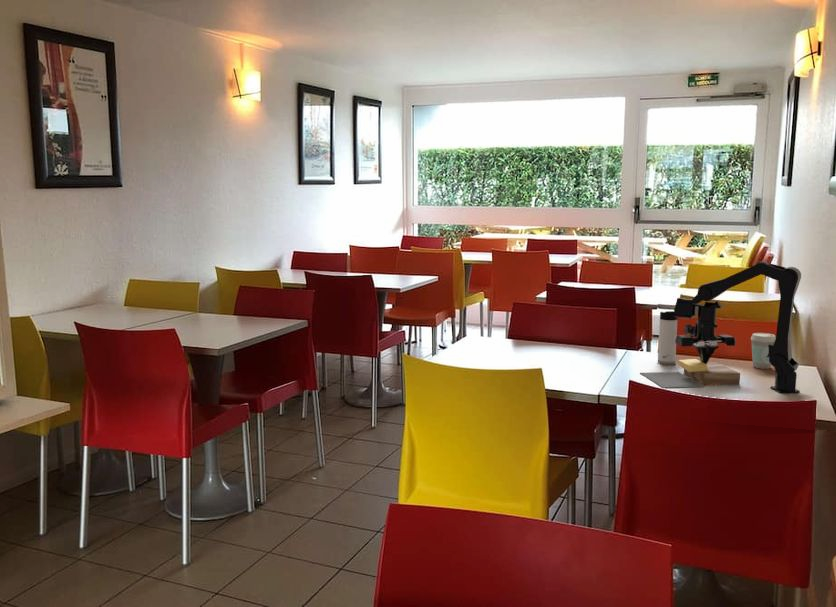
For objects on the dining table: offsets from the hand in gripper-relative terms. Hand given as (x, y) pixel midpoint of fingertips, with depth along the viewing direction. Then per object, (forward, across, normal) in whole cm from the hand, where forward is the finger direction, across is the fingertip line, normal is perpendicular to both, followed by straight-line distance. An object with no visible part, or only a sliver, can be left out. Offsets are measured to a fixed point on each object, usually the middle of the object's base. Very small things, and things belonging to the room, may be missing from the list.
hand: (703, 365), depth 253 cm
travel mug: (+5, +2, -25) cm, 26 cm away
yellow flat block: (+1, +4, 0) cm, 4 cm away
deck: (+5, -3, 0) cm, 6 cm away
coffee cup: (+5, -30, -16) cm, 34 cm away
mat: (+5, +11, 0) cm, 12 cm away
